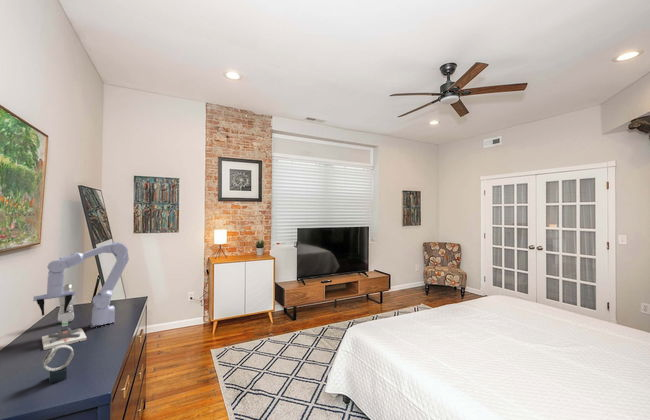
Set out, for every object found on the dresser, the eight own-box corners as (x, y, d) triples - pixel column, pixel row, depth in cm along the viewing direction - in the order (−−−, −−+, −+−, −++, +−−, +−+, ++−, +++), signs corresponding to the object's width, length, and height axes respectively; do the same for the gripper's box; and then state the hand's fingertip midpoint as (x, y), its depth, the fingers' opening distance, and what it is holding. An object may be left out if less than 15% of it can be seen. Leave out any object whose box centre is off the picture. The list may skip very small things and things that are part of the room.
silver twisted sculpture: (77, 320, 153) (78, 284, 153) (62, 325, 146) (63, 286, 147) (69, 319, 155) (71, 283, 156) (54, 323, 148) (56, 285, 149)
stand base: (81, 330, 139) (81, 321, 140) (86, 339, 129) (87, 330, 129) (41, 339, 129) (42, 329, 129) (43, 350, 118) (44, 339, 118)
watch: (41, 379, 97) (43, 347, 97) (72, 370, 102) (73, 340, 103) (40, 386, 93) (42, 353, 93) (73, 377, 98) (74, 345, 99)
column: (70, 323, 132) (71, 310, 132) (71, 325, 129) (72, 312, 130) (57, 325, 129) (58, 312, 129) (58, 328, 126) (59, 314, 126)
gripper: (74, 281, 143) (73, 307, 142) (33, 286, 132) (32, 314, 132) (76, 283, 138) (75, 310, 138) (34, 288, 128) (32, 318, 127)
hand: (54, 313), depth 134 cm, fingers open, 7 cm apart
